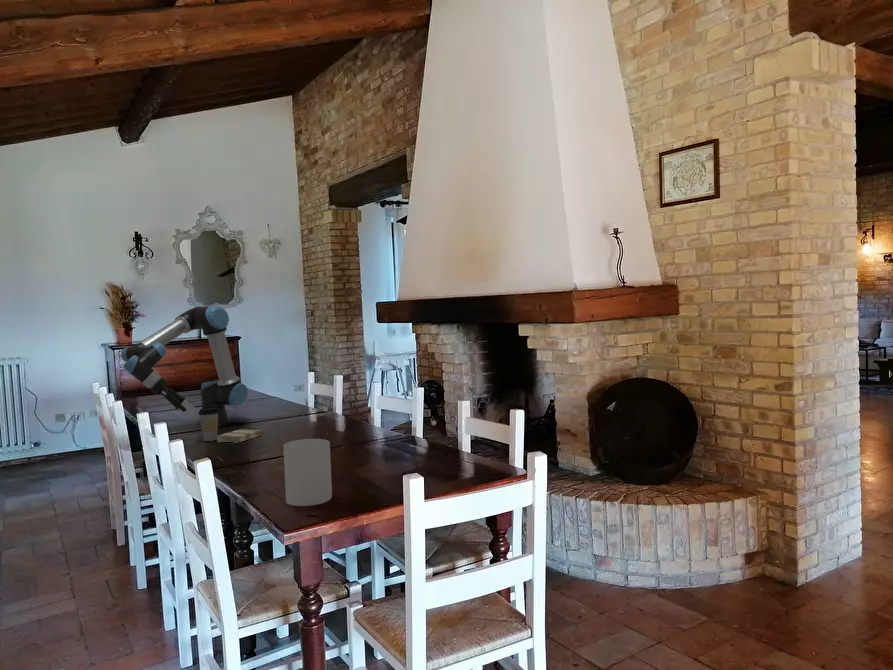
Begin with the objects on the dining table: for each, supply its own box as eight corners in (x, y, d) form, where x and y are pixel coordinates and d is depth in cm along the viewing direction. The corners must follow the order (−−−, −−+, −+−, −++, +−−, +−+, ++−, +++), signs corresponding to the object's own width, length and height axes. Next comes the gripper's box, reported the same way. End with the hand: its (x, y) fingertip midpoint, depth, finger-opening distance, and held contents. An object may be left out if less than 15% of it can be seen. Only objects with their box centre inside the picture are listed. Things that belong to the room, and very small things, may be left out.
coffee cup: (197, 440, 305) (195, 409, 304) (217, 437, 311) (215, 406, 310) (203, 443, 298) (201, 411, 297) (223, 440, 303) (222, 408, 303)
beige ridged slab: (241, 435, 314) (240, 429, 314) (260, 436, 309) (260, 430, 309) (217, 442, 299) (216, 435, 299) (237, 443, 295) (237, 437, 294)
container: (296, 509, 196) (293, 451, 195) (278, 498, 208) (275, 443, 207) (339, 499, 204) (337, 443, 204) (320, 490, 216) (317, 436, 215)
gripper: (153, 386, 306) (188, 415, 311) (145, 392, 282) (184, 423, 288) (164, 374, 307) (199, 403, 313) (158, 379, 284) (196, 410, 289)
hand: (192, 413), depth 300 cm, fingers open, 13 cm apart
